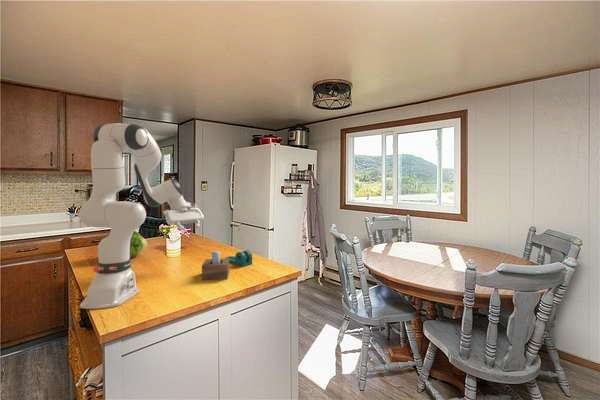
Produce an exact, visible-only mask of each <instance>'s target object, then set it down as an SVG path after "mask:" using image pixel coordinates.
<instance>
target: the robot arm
mask: <svg viewBox="0 0 600 400" xmlns="http://www.w3.org/2000/svg"><path fill="white" fill-rule="evenodd" d="M92 137H93V143H92V145H91V149H90V167H91V174H92V176H91V177H92V190H91V194H90V197H89V198H88V200H87V201H86V202H85V203H83V204H82V205H81V207H80V209H79V211H78V217H79V220H80V222H81V223H82V224H83V225H85V226H89V227H94V228H110V233H109V234H108V235H109V236H108V235H107V236H108V237H107V236H106V237H103V238H102V239H101V240H100V241H99V243H98V246H97V248H98V250H97V251H98V253H97V254H98V261H97V264H96V266H94V267H93V269H92V270H93V272H94V273H95V272H96V273H95V275H94V278H93V279H92V281H91V282H90V283H89V286H88V288H87V293H86V297H85V298H84V299H83V300H82V301H81V302H80V304H79V308H81V309H86V310H88V309H89V310H92V309H94V310H95V309H107V308H114V307H118V306H120V305H122V304H124V303H125V302H126V301H128V300H129V299H131V298H132V297H134V296H135V295H137V294H138V293H140V292H141V291H140V290H141V289H140V288H137V284H136V283H137V282H136V274H135V272H134V271H133V270H132V268H131V267H132V259H131V258H130V240H131V237H132V234H133V233H134V231H136V230H137V229H138V228H139V227H140V226H141V225H142V224H144V223H145V221H146V218H147V211H146V208H145V207H144V206H143V205H142V203H138V202H132V201H119V200H117V201H116V199H115V198H116V194H117V193H119V192H120V191H122V190H123V189H124V188H125V186H126V185H127V184H126V183H127V182H126V175H125V174H126V173H125V163H124V158H123V152H124V151H132V153H133V155H134V157H135V163H134V165H133V169H134V172H135V175H136V178H137V181H138V183H139V185H140V189H141V191H142V193H143V200H144V201H145V203H146V205H148V206H149V207H152V208H158V207H159V206H161V205H163V204H164V203H167V204H168V205H169V208H170V209H164V210H163V211H162V213H163V216H164V217H165V221H166V223H167V225H169V226H175V227H176V228H178V229H180V231H184V230H185V226H184V225H187V224H196V225H195V228H196V229H200V228H201V225H200V223H202V222H203V220H204V219H205V218H204V214H203V213H202V211H201V209H199V207H198V205H197V204H196V203H192V202H189V201H187V200H185V199H184V196H183V195H184V190H183V189H182V187H181V185H180V182H178V181H177V180H175V179H167V180H166V181H163V182H162V183H160V184H157V185H155V186H152V187H151V186H150V183H149V180H148V175H149V174H150V173H151V172H152V171H153V170H154V169H155V168H156V167H158V165H159V164H160V162H161V160H162V156H163V155H162V151H161V149H160V147H159V145H158V143H157V142H156V140H155V138H154V137H153V136H152V135H151V133H150V132H149V131H148V130H147V129H146V128H145V127H143V126H141V125H139V124H136V123H135V124H134V123H130V124H128V123H121V122H120V123H119V122H117V123H115V122H114V123H103V124H99V125H97V126H96V127H95V129H94V131H93V136H92Z"/></svg>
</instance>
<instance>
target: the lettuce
mask: <svg viewBox="0 0 600 400" xmlns="http://www.w3.org/2000/svg"><path fill="white" fill-rule="evenodd" d="M108 236H109V234H107V236H106V237H108ZM147 247H148V241H147V240H146V239H145V238H144V237H143V236H142V235H141V234H140V233H139V232H137V231H136V230H135V231H134V233H133V234H132V237H131V240H130V259H131V258H135V257H136V256H138V255H139V254H140V253H141V252H143V251H144V250H145V249H146V248H147Z"/></svg>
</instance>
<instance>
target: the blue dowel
mask: <svg viewBox="0 0 600 400" xmlns="http://www.w3.org/2000/svg"><path fill="white" fill-rule="evenodd" d="M211 259H212V264H220V259H221V252H220V251H218V250H217V251H212V252H211Z"/></svg>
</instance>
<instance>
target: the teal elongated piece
mask: <svg viewBox="0 0 600 400" xmlns="http://www.w3.org/2000/svg"><path fill="white" fill-rule="evenodd" d="M224 259H229V264H231V265H233V266H234V265H235V266H238V267H242V268H244V267H247V266H251V265H253V254H252V252H251V250H248V249H247V250H243V251H239V252H236V253H235V255H229V256H225V258H224Z"/></svg>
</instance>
